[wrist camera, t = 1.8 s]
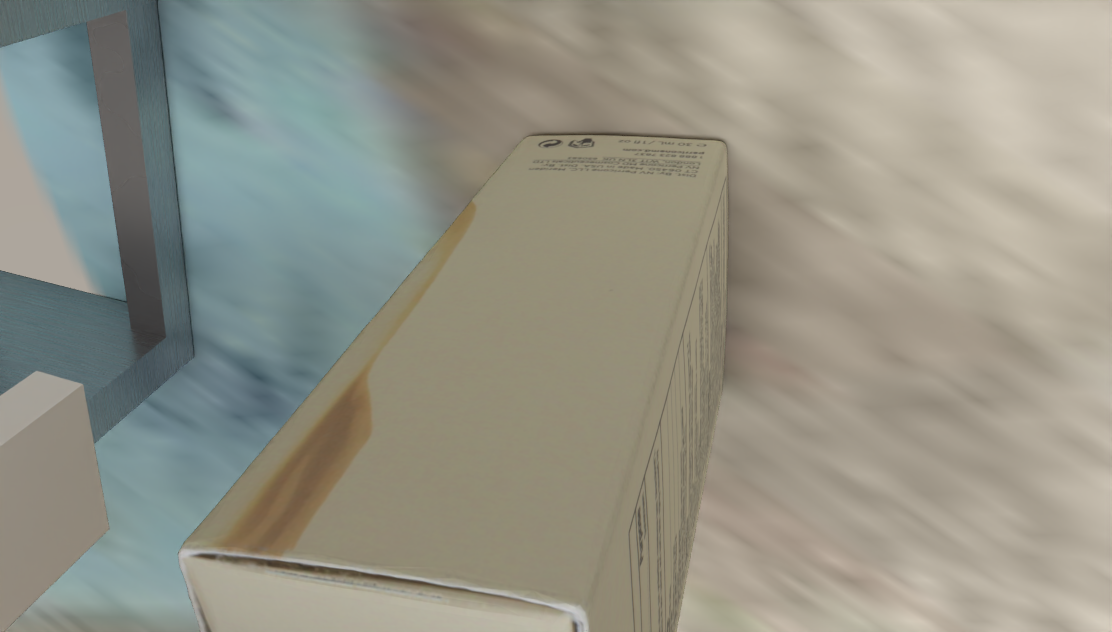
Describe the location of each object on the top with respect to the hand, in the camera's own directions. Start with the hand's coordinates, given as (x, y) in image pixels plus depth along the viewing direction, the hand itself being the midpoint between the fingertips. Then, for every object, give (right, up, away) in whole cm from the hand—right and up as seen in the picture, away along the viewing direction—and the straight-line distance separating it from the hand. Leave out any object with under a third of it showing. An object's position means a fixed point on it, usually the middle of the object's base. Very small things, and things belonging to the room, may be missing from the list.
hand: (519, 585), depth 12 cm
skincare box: (+2, +5, +8) cm, 9 cm away
